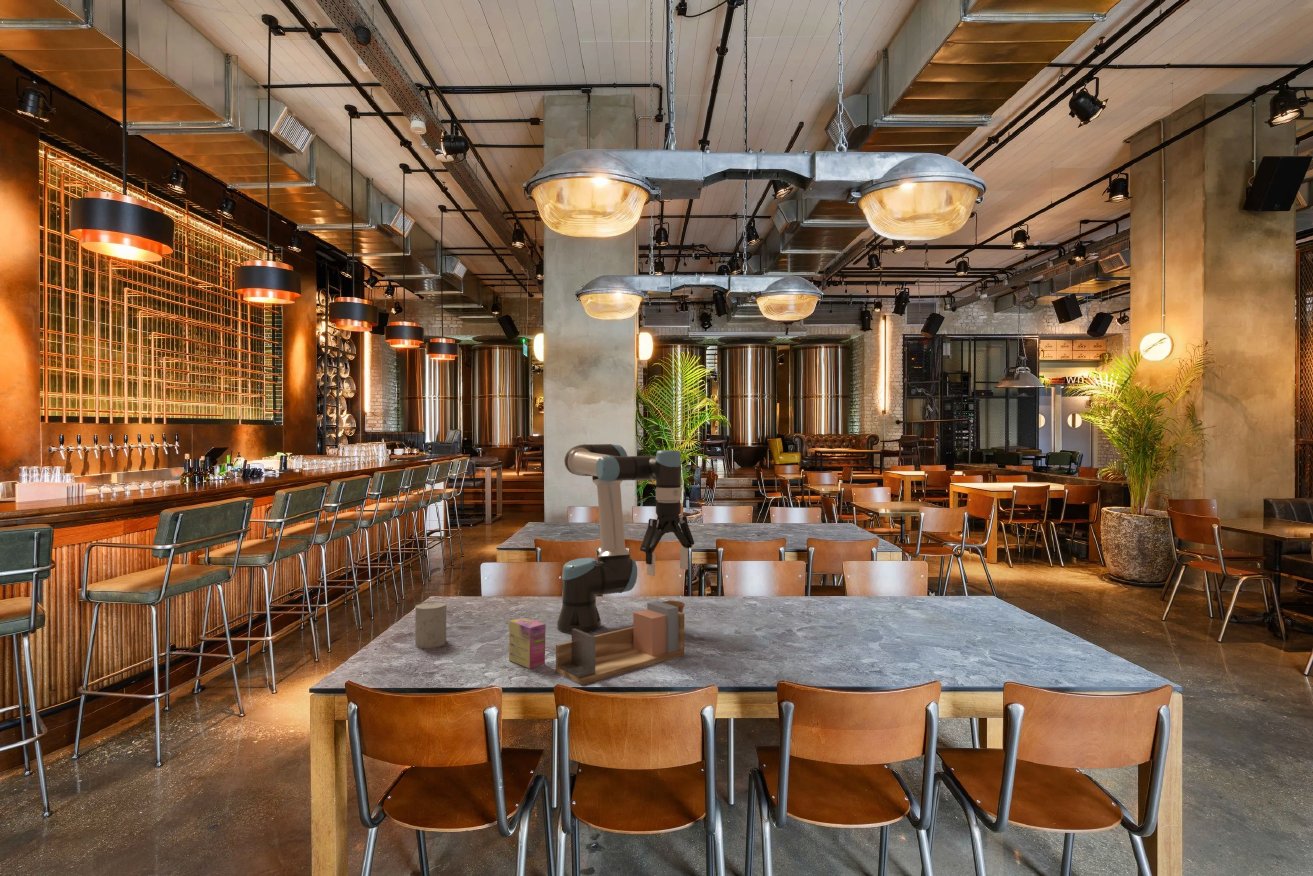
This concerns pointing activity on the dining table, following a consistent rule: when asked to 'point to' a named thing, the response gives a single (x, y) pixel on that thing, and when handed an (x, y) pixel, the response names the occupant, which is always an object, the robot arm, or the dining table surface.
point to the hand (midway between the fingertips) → (667, 571)
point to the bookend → (581, 655)
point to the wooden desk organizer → (616, 654)
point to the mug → (677, 604)
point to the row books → (656, 629)
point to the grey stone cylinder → (430, 624)
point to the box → (527, 642)
